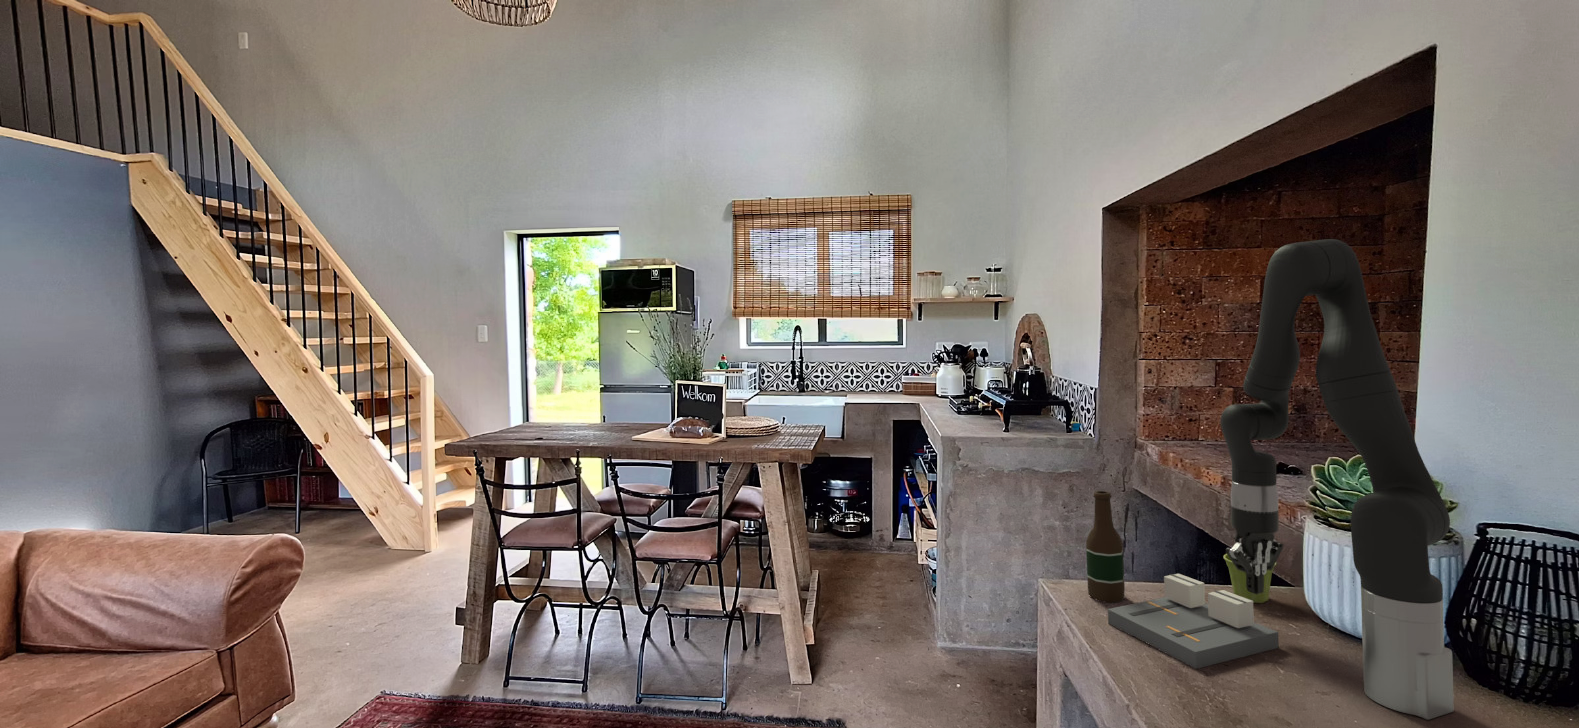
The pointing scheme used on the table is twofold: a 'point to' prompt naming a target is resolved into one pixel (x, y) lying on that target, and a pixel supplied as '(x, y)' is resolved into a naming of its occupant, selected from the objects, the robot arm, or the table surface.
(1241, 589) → the plant pot
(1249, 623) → the block
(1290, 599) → the table surface
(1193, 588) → the block
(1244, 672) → the table surface
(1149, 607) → the fader board
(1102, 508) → the beer bottle
